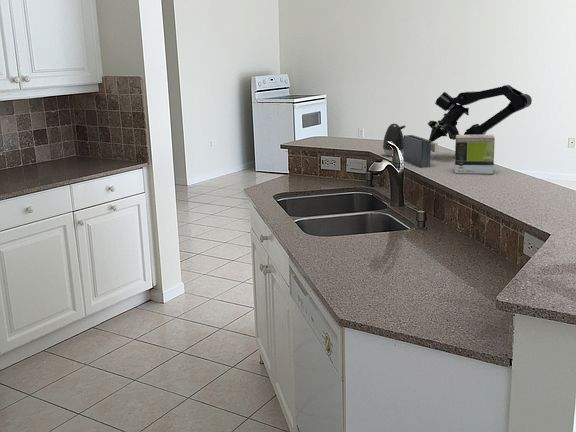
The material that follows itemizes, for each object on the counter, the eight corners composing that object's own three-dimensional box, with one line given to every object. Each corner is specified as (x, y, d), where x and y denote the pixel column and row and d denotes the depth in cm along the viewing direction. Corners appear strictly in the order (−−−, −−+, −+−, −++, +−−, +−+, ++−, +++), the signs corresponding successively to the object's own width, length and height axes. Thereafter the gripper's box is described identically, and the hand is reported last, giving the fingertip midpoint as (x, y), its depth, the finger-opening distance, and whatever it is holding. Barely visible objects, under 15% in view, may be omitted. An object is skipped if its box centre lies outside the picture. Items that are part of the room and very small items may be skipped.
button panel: (411, 159, 290) (412, 134, 287) (430, 166, 271) (430, 140, 268) (403, 160, 289) (403, 135, 286) (420, 167, 270) (421, 141, 267)
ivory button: (433, 150, 275) (433, 141, 274) (437, 152, 271) (437, 142, 270) (423, 151, 274) (423, 142, 273) (427, 152, 270) (427, 143, 269)
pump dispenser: (403, 157, 295) (403, 124, 291) (380, 157, 299) (381, 124, 295) (406, 154, 305) (407, 122, 301) (384, 153, 308) (385, 122, 304)
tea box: (492, 170, 261) (494, 134, 257) (493, 174, 252) (495, 137, 248) (454, 169, 265) (456, 133, 261) (453, 173, 256) (455, 136, 252)
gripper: (474, 130, 280) (450, 157, 280) (454, 126, 297) (431, 151, 298) (458, 113, 276) (434, 140, 276) (438, 110, 294) (416, 135, 294)
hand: (429, 142), depth 286 cm, fingers closed
